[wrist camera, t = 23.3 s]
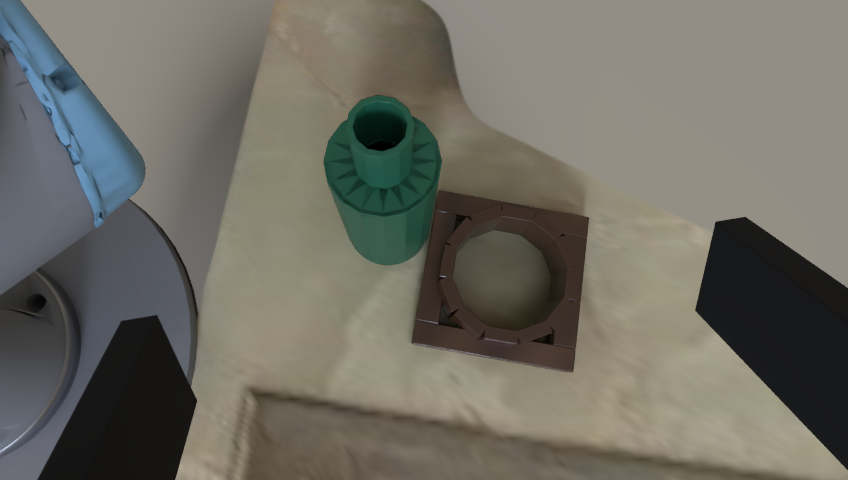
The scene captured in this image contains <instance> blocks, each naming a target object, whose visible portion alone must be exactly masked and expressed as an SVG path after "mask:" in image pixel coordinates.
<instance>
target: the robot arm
mask: <svg viewBox="0 0 848 480" xmlns="http://www.w3.org/2000/svg"><path fill="white" fill-rule="evenodd" d="M144 178H145V163H144V161H143V158H142V156H141V155H140V153H139V152H138V150H137V149H136V148H135V146H134V145H133V144H132V142H131V141H130V140H129V139H128V137H127V136H126V135H125V134H124V132H123V131H122V130H121V128H120V127H119V126H118V125H117V123H116V122H115V121H114V120H113V118H112V117H111V116H110V115H109V113H108V112H107V111H106V109H105V108H104V107H103V106H102V104H101V103H100V102H99V100H98V99H97V98H96V97H95V95H94V94H93V93H92V92H91V90H90V89H89V88H88V86H86V84H85V83H84V81H83V80H82V79H81V78H80V76H79V75H78V74H77V73H76V71H75V70H74V68H73V67H72V66H71V65H70V63H69V62H68V61H67V60H66V58H65V57H64V56H63V54H62V53H61V52H60V51H59V49H58V48H57V47H56V45H55V44H54V43H53V42H52V40H51V39H50V38H49V37H48V35H47V34H46V33H45V31H44V30H43V29H42V27H41V26H40V25H39V24H38V22H37V21H36V20H35V19H34V17H33V16H32V15H31V13H30V12H29V11H28V10H27V8H26V7H25V6H24V4H23V3H22V2H21V1H20V0H0V458H1V457H3V456H5V455H7V454H9V453H11V452H12V451H14V450H16V449H17V448H19V447H21V446H22V445H23V444H25V443H26V442H28V441H29V440H30V439H31V438H33V437H34V436H35V435H36V434H37V433H38V432H39V431H40V430H41V429H42V428H43V427H44V426H45V425H46V424H47V423H48V422H49V421H50V420H51V418H52V417H53V416H54V415H55V413H56V412H57V411H58V409H59V408H60V406H61V405H62V403H63V401H64V400H65V398H66V396H67V394H68V392H69V390H70V388H71V386H72V383H73V381H74V378H75V375H76V372H77V368H78V364H79V358H80V349H81V335H80V326H79V322H78V317H77V314H76V311H75V309H74V306H73V304H72V302H71V300H70V298H69V297H68V295H67V294H66V292H65V291H64V290H63V288H62V287H61V286H60V285H59V284H58V283H57V282H56V281H55V280H54V279H53V278H52V277H51V276H49V275H48V274H47V273H46V272H44V271H42V270H41V269H39V267H41V266H42V265H44V264H45V263H47V262H48V261H49V260H51V259H52V258H54V257H55V256H56V255H58V254H59V253H61V252H62V251H63V250H65V249H66V248H68V247H69V246H71V245H72V244H73V243H75V242H76V241H78V240H79V239H80V238H82V237H83V236H85V235H86V234H88V233H89V232H90V231H92V230H93V229H95V228H98V227H100V226H101V225H102V224H103V223H104V220H105V218H106V217H107V216H108V215H109V214H111V213H112V212H113V211H114V210H115V209H117V208H118V207H119V206H120V205H121V204H123V203H124V202H125V201H126V200H127V199H129V198H130V197H131V196H132V195H133V194H135V193H136V192H137V191H138V190H139V188H140V187H141V185H142V183H143V180H144ZM695 311H696V312H697V313H698V314H699V315H700V316H701V317H702V318H703V319H704V320H705V321H706V322H707V323H708V324H709V326H710V327H711V328H712V329H713V330H714V331H715V332H716V333H717V334H718V335H719V336H720V337H721V338H722V339H723V340H724V341H725V342H726V343H727V344H728V345H729V346H730V347H731V349H732V350H733V351H734V352H735V353H736V354H737V355H738V356H739V357H740V358H741V359H742V360H743V361H744V362H745V363H746V364H747V365H748V366H749V367H750V368H751V369H752V370H753V372H754V373H755V374H756V375H757V376H758V377H759V378H760V379H761V380H762V381H763V382H764V383H765V384H766V385H767V386H768V387H769V388H770V389H771V390H772V391H773V392H774V394H775V395H776V396H777V397H778V398H779V399H780V400H781V401H782V402H783V403H784V404H785V405H786V406H787V407H788V408H789V409H790V410H791V411H792V412H793V413H794V414H795V415H796V417H797V418H798V419H799V420H800V421H801V422H802V423H803V424H804V425H805V426H806V427H807V428H808V429H809V430H810V431H811V432H812V433H813V434H814V435H815V436H816V437H817V438H818V440H819V441H820V442H821V443H822V444H823V445H824V446H825V447H826V448H827V449H828V450H829V451H830V452H831V453H832V454H833V455H834V456H835V457H836V458H837V459H838V460H839V462H840V463H841V464H842V465H843V466H844V467H845V468H846V469H847V470H848V288H847V287H845V286H844V285H842V284H841V283H840V282H838V281H837V280H835V279H834V278H832V277H831V276H830V275H828V274H827V273H825V272H824V271H822V270H821V269H820V268H818V267H817V266H815V265H814V264H812V263H811V262H810V261H808V260H806V259H805V258H804V257H802V256H801V255H799V254H798V253H797V252H795V251H794V250H792V249H791V248H789V247H788V246H786V245H785V244H784V243H782V242H781V241H779V240H778V239H776V238H775V237H773V236H772V235H771V234H769V233H768V232H766V231H765V230H763V229H762V228H760V227H759V226H758V225H756V224H755V223H753V222H752V221H751V220H749V219H748V218H746V217H742V218H736V219H730V220H724V221H718V222H716V223H715V227H714V231H713V236H712V240H711V244H710V249H709V253H708V257H707V262H706V266H705V270H704V275H703V279H702V283H701V288H700V292H699V296H698V301H697V305H696V309H695ZM196 403H197V399H196V397H195V395H194V393H193V391H192V389H191V387H190V384H189V382H188V380H187V378H186V376H185V374H184V372H183V369H182V367H181V365H180V363H179V361H178V359H177V357H176V354H175V352H174V350H173V348H172V346H171V344H170V341H169V339H168V337H167V335H166V333H165V331H164V329H163V326H162V324H161V322H160V320H159V318H158V316H157V315H153V316H147V317H141V318H135V319H129V320H123V321H121V322H120V324H119V326H118V328H117V330H116V332H115V334H114V335H113V337H112V339H111V341H110V343H109V345H108V347H107V349H106V351H105V352H104V354H103V356H102V358H101V360H100V362H99V364H98V366H97V368H96V369H95V371H94V373H93V375H92V377H91V379H90V381H89V383H88V385H87V386H86V388H85V390H84V392H83V394H82V396H81V398H80V400H79V402H78V404H77V405H76V407H75V409H74V411H73V413H72V415H71V417H70V419H69V421H68V422H67V424H66V426H65V428H64V430H63V432H62V434H61V436H60V438H59V439H58V441H57V443H56V445H55V447H54V449H53V451H52V453H51V455H50V456H49V458H48V460H47V462H46V464H45V466H44V468H43V470H42V472H41V473H40V475H39V477H38V479H37V480H175V478H176V475H177V471H178V468H179V464H180V460H181V457H182V453H183V450H184V446H185V443H186V439H187V435H188V432H189V428H190V425H191V421H192V417H193V414H194V410H195V407H196Z"/></svg>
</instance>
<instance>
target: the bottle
mask: <svg viewBox="0 0 848 480" xmlns="http://www.w3.org/2000/svg"><path fill="white" fill-rule="evenodd" d="M441 164H442V159H441V155H440V151H439V147H438V143H437V140H436V138H435V137H434V136H433V134H432V133H431V132H430V130H429V129H428V128H427V126H426V125H425V124H424V123H423V122H421V121H420V120H418V119H417V118H415V117H413V116H412V115H411V114H410V111H409V109H408V108H407V107H406V106H405V105H403V104H402V103H401V102H399V101H398V100H397V99H396V98H392V97H387V96H381V95H376V96H373V97H369V98H366V99H363V100H361V101H360V102H359V103H358V104H357V105H356V106H355V107H354V108H353V109H352V110H351V111H350V112H349V115H348V119H347V120H346V121H344V122H342V123H341V125H340V126H339V127H338V129H337V130H336V131H335V133H334V134H333V135H332V137H331V138H330V139H329V141H328V145H327V149H326V153H325V157H324V167H325V172H326V178H327V183H328V185H329V188H330V190H331V193H332V195H333V198H334V201H335V203H336V206H337V208H338V211H339V213H340V216H341V218H342V221H343V224H344V226H345V229H346V231H347V234H348V236H349V239H350V241H351V242H352V244H353V246H354V247H355V249H356V250H357V251H358V252H359V253H360V254H361V255H362V256H363V257H365V258H366V259H368V260H370V261H372V262H374V263H377V264H382V265H394V264H399V263H402V262H405V261H407V260H409V259H410V258H412V257H413V256H414V255H416V254H417V253H418V252H419V251H420V249H421V248H422V246H423V245H424V243H425V241H426V239H427V236H428V231H429V226H430V221H431V216H432V211H433V206H434V201H435V196H436V191H437V186H438V181H439V175H440V170H441Z"/></svg>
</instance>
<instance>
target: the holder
mask: <svg viewBox="0 0 848 480" xmlns="http://www.w3.org/2000/svg"><path fill="white" fill-rule="evenodd" d="M456 220H461V221H463V222H462V223H461V224H460V225H459V226H458V227H457V229H456V230H455V231H454V229H455V223H456ZM588 223H589V217H584V216H578V215H573V214H567V213H562V212H556V211H551V210H545V209H540V208H534V207H529V206H523V205H518V204H512V203H507V202H501V201H496V200H490V199H484V198H479V197H473V196H468V195H462V194H457V193H451V192H446V191H440V190H439V192H438V197H437V202H436V208H435V214H434V219H433V225H432V230H431V236H430V242H429V247H428V253H427V259H426V264H425V270H424V275H423V281H422V287H421V292H420V298H419V303H418V309H417V315H416V320H415V326H414V332H413V337H412V344H413V345H419V346H424V347H430V348H436V349H441V350H447V351H452V352H458V353H463V354H469V355H474V356H480V357H485V358H491V359H496V360H502V361H507V362H513V363H518V364H524V365H529V366H535V367H541V368H546V369H552V370H557V371H563V372H573V370H574V360H575V348H576V341H577V331H578V321H579V311H580V301H581V291H582V281H583V271H584V261H585V252H586V242H587V233H588ZM492 230H497V231H503V232H508V233H514V234H519V235H522V236H523V237H524V238H525V239H527V240H528V241H529V242H530V243H532V244H533V245H534V246H535V247H537V248H538V249H539V250H540V251H542V254H543V256H544V259H545V261H546V263H547V266H548V268H549V270H550V273H551V275H552V283H551V292H550V301H549V304H548V306H547V307H546V308H545V309H544V311H543V312H542V313H541V315H540V316H539V317H538V319H537V320H536V321H535V322H534V324H533V325H531V326H528V327H525V328H523V329H520V330H517V331H515V330H510V329H504V328H499V327H493V326H488V325H486V324H485V323H484V322H482V321H481V320H480V319H479V318H478V317H476V316H475V315H474V314H473V313H472V312H470V311H469V310H468V309H467V308H466V307H464V306H463V303H462V301H461V298H460V296H459V293H458V290H457V288H456V285H455V282H454V280H453V271H454V264H455V258H456V254H457V252H458V251H459V250H460V249H461V248H462V247H463V245H464V244H465V243H466V242H467V241H468V239H469V238H472V237H475V236H478V235H481V234H484V233H487V232H489V231H492ZM442 306H443V308H444V311H445V314H446V316H447V317H448V316H450V315H452V316H451V317H450V319H449V320H450V321H451V322H452V323H453V324H454V325H456V326H457V327H458V328H457V327H451V326H446V325H440V324H439V319H440V313H441V307H442ZM548 334H549V342H548V344H545V343H540V342H534V341H532V340H535V339H537V338H540V337H543V336H545V335H548Z"/></svg>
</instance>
